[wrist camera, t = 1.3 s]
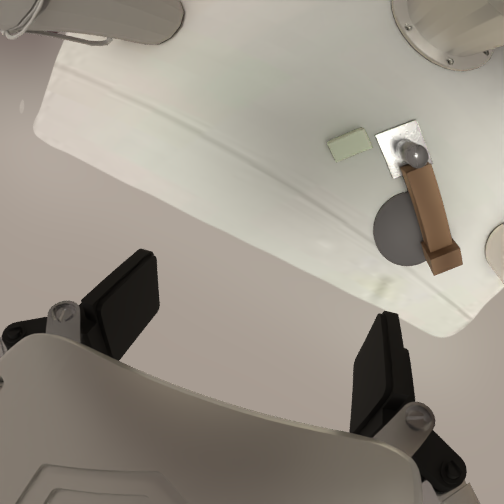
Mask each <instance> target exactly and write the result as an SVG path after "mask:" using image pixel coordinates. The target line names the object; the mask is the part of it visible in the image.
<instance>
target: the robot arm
mask: <svg viewBox="0 0 504 504" xmlns="http://www.w3.org/2000/svg"><path fill="white" fill-rule="evenodd" d="M392 10H393V15H394V18H395V21H396V24H397V26H398V27H399V29H400V31H401V33H402V34H403V36H404V37H405V38H406V40H407V41H408V42H409V43H410V44H411V45H412V46H413V48H414V49H415V50H416V51H418V52H419V53H420V54H421V55H423V56H424V57H425V58H426V59H428V60H430V61H431V62H433V63H435V64H437V65H439V66H441V67H444V68H446V69H450V70H454V71H468V70H473V69H476V68H479V67H481V66H482V65H484V64H485V63H486V62H487V61H488V60H489V59H490V57H491V55H492V53H493V50H494V48H497V47H500V46H504V0H392ZM405 27H407V28H408V29H409V31H408V30H406V29H405ZM483 52H484V53H483ZM447 60H448V61H449V64H448V63H447ZM81 302H82V303H81V304H80V305H79V306H78V305H77V303H74V302H72V301H62V302H59V303H57V304H55V305H54V306H52V307H51V309H50V310H49V312H48V317H43V318H38V319H32V320H27V321H20V322H16V323H12V324H10V325H9V326H8V327H7V328H6V329H5V330H4V331H3V334H2V337H0V504H480V502H479V500H478V498H477V496H476V494H475V493H474V490H473V488H472V487H471V485H470V483H468V484H466V482H465V477H466V473H467V472H466V465H465V463H464V461H463V460H462V459H461V457H460V456H459V455H458V454H457V453H456V452H454V451H453V450H452V449H451V448H450V447H449V446H448V445H447V444H446V443H445V442H444V441H443V440H442V439H441V438H440V437H439V436H438V435H437V434H436V433H435V432H434V431H433V428H434V426H435V416H434V414H433V412H432V410H431V409H430V408H429V407H428V406H426V405H425V404H423V403H420V402H415V395H414V386H413V378H412V371H411V363H410V357H409V352H408V350H407V349H405V348H404V347H403V340H402V334H401V328H400V322H399V317H398V314H397V313H392V312H388V311H384V312H383V313H382V314H378V315H377V317H376V319H375V321H374V323H373V325H372V327H371V329H370V331H369V334H368V335H367V338H366V340H365V342H364V343H363V346H362V347H361V349H360V351H359V353H358V355H357V357H356V359H355V362H354V370H353V371H354V372H353V392H352V408H351V421H350V433H349V432H344V431H338V430H333V429H328V428H323V427H318V426H314V425H309V424H305V423H300V422H296V421H291V420H287V419H283V418H279V417H275V416H271V415H267V414H263V413H260V412H256V411H253V410H249V409H246V408H242V407H239V406H236V405H232V404H229V403H226V402H223V401H220V400H217V399H214V398H211V397H208V396H205V395H202V394H199V393H196V392H193V391H190V390H188V389H185V388H182V387H180V386H177V385H174V384H172V383H169V382H167V381H164V380H162V379H159V378H157V377H154V376H152V375H149V374H147V373H145V372H142V371H140V370H138V369H135V368H133V367H131V366H128V365H126V364H124V363H122V362H120V361H119V360H120V359H121V358H122V356H123V355H124V354H125V352H126V351H127V350H128V349H129V347H130V346H131V345H132V343H133V342H134V341H135V340H136V338H137V337H138V336H139V334H140V333H141V332H142V331H143V329H144V328H145V327H146V326H147V324H148V323H149V322H150V321H151V319H152V318H153V317H154V316H155V314H156V313H157V312H158V310H159V306H160V304H159V303H160V302H159V290H158V275H157V259H156V257H155V256H154V254H153V252H151V251H148V250H144V249H139V250H137V251H136V252H135V253H134V254H133V255H132V256H131V257H129V258H128V259H127V260H126V261H125V262H123V263H122V264H121V265H120V266H119V267H118V268H116V269H115V270H114V271H113V272H112V273H111V274H110V275H108V276H107V277H106V278H105V279H104V280H103V281H102V282H101V283H99V284H98V285H97V286H96V287H95V288H94V289H93V290H92V291H91V292H90V293H88V294H87V295H86V296H85V297H84V298H83V299H82V300H81Z"/></svg>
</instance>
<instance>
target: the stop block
mask: <svg viewBox="0 0 504 504" xmlns="http://www.w3.org/2000/svg"><path fill="white" fill-rule="evenodd" d="M327 145H328V147H329V149H330V151H331V153H332V155H333V157H334V159H335V161H336V163H337V162H339V161H342V160H344V159H346V158H349V157H351V156H354V155H356V154H359V153H361V152H363V151H366V150H368V149H371V148H373V147H372V144H371V142H370V140H369V138H368V136H367V133H366V131H365V129H364V128H362V127H361V128H358V129H356V130H353V131H351V132H349V133H346V134H344V135H341V136H339V137H337V138H334V139H332V140H330V141H328V143H327Z"/></svg>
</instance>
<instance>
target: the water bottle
mask: <svg viewBox="0 0 504 504" xmlns="http://www.w3.org/2000/svg"><path fill="white" fill-rule="evenodd" d="M183 13H184V12H183V9H182V6H181V3H180V1H179V0H0V31H1V33H2V36H4V35H6V37H7V38H8V39H16V38H18V37H19V36H21V35H22V34H24V33H31V34H37V35H44V36H49V37H54V38H59V39H64V40H69V41H74V42H78V43H82V44H87V45H91V46H103V45H108V44H109V43H110V42H111V41H112V38H115V39H121V40H126V41H131V42H136V43H141V44H145V45H146V44H159V43H161V42H163V41H165V40H167V39H169V38H171V36H172V35H173V34H174V33H175V32H176V30H177V29H178V28H179V27H180V25H181V21H182V17H183ZM46 31H59V32H72V33H81V34H89V35H96V36H103V37H108V38H107V39H106V40H105V41H88V40H84V39H80V38H75V37H71V36H66V35H61V34H56V33H51V32H46ZM17 32H19V33H18V34H16V35H11V34H14V33H17Z"/></svg>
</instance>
